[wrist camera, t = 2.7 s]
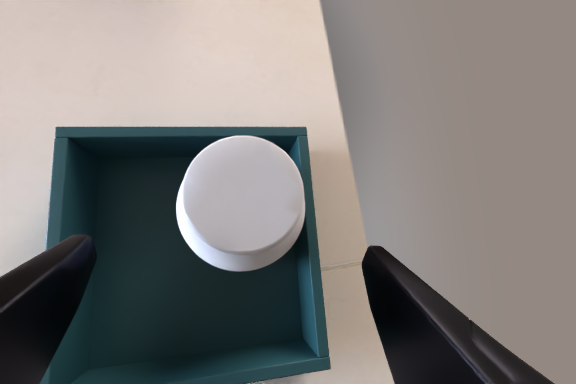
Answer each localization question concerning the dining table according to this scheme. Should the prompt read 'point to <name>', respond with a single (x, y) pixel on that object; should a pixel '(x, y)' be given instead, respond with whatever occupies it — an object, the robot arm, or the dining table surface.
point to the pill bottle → (241, 203)
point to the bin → (175, 269)
